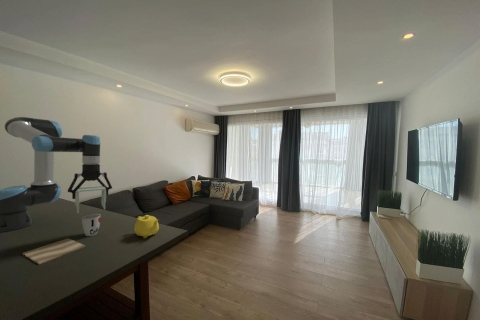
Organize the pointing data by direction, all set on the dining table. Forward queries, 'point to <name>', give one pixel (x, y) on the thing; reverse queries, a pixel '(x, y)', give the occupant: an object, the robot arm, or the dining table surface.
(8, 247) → the dining table surface
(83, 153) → the robot arm
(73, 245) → the mat
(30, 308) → the dining table surface
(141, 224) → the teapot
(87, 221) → the cup
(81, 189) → the cover
